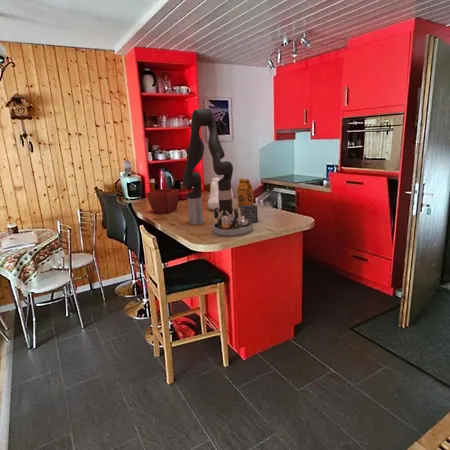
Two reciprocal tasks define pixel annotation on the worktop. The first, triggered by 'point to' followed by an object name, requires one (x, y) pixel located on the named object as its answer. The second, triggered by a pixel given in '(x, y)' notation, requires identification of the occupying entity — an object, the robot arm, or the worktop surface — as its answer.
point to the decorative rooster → (214, 194)
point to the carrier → (240, 229)
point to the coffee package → (245, 193)
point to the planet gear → (227, 226)
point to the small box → (249, 213)
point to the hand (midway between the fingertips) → (226, 226)
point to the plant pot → (163, 200)
